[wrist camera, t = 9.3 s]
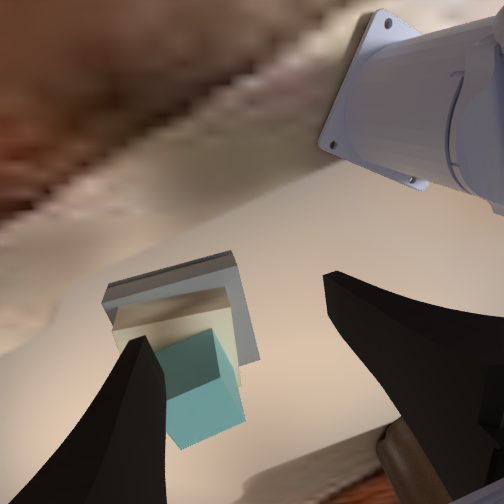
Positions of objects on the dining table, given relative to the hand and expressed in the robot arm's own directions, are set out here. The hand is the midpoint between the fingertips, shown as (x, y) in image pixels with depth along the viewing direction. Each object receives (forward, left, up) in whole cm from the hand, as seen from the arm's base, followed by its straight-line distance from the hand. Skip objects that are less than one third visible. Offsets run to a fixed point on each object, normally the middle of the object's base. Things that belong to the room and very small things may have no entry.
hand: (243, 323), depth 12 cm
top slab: (0, +8, -9) cm, 12 cm away
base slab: (-1, +8, -11) cm, 14 cm away
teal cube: (-1, +8, -6) cm, 10 cm away
